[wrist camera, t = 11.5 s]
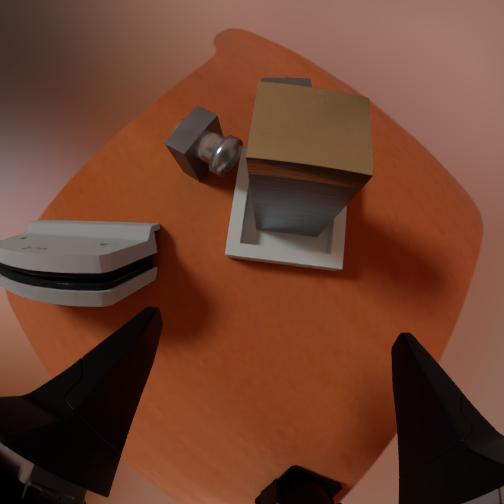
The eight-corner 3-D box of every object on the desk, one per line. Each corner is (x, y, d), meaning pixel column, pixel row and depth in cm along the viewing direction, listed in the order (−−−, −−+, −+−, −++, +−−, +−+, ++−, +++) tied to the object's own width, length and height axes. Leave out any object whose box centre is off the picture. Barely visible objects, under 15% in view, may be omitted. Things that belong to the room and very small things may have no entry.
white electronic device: (163, 223, 24) (103, 244, 15) (164, 275, 25) (110, 320, 16) (37, 220, 25) (-28, 234, 16) (40, 260, 26) (-21, 284, 17)
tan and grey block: (320, 191, 24) (368, 98, 11) (317, 237, 23) (373, 175, 10) (262, 183, 24) (258, 81, 11) (256, 229, 23) (245, 156, 10)
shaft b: (248, 161, 25) (244, 128, 19) (222, 196, 24) (210, 170, 19) (205, 137, 25) (192, 103, 20) (179, 169, 25) (159, 140, 19)
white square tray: (342, 171, 24) (348, 162, 22) (335, 271, 23) (342, 269, 21) (243, 158, 25) (241, 148, 23) (228, 257, 24) (225, 254, 22)
